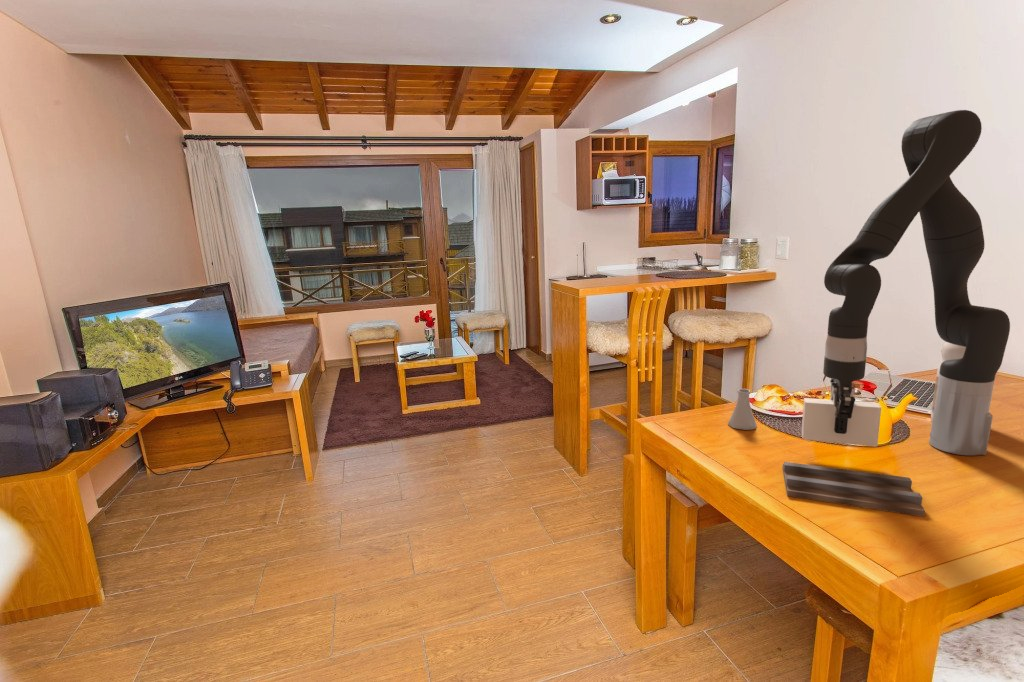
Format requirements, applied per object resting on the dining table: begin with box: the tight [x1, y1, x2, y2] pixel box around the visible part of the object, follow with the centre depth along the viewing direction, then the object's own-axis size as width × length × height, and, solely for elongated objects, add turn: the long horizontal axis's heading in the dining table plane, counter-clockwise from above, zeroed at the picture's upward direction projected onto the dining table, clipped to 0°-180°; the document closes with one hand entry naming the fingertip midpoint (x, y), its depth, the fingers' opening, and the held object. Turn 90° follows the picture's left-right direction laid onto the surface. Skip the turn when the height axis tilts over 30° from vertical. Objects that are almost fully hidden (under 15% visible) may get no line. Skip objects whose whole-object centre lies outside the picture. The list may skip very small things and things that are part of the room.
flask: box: [727, 388, 757, 431], centre depth 132 cm, size 7×7×10 cm
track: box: [782, 461, 926, 518], centre depth 99 cm, size 22×12×3 cm, turn 66°
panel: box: [801, 397, 882, 447], centre depth 110 cm, size 14×3×9 cm, turn 66°
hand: (838, 429), depth 110 cm, fingers closed on panel, 3 cm apart
